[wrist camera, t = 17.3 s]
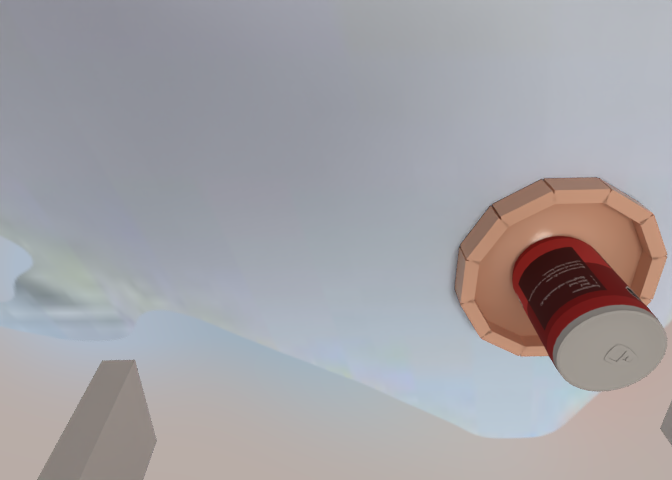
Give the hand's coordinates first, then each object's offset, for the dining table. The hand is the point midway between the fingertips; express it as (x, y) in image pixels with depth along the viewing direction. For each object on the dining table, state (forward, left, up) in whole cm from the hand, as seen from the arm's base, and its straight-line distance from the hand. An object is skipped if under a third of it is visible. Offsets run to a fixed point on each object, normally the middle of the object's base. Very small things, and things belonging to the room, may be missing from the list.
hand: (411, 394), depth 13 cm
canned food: (+18, -16, -30) cm, 39 cm away
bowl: (+18, -16, -31) cm, 39 cm away
